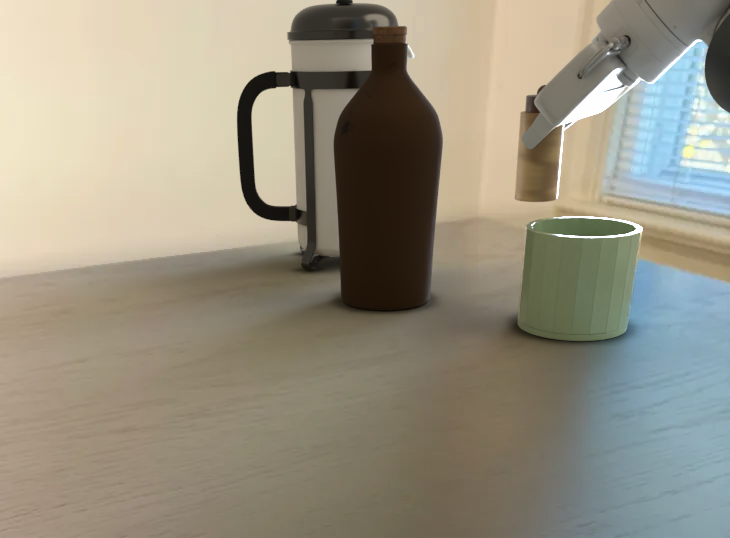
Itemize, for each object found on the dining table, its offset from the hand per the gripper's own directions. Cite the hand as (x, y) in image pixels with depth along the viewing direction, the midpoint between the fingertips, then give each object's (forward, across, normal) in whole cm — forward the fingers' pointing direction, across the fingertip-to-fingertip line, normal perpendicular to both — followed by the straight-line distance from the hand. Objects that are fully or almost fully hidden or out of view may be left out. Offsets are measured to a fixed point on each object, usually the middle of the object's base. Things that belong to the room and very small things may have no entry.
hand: (534, 141), depth 99 cm
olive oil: (+16, -20, -4) cm, 26 cm away
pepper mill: (+4, 0, -5) cm, 6 cm away
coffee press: (+25, -6, +6) cm, 27 cm away
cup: (+2, -22, -18) cm, 28 cm away
